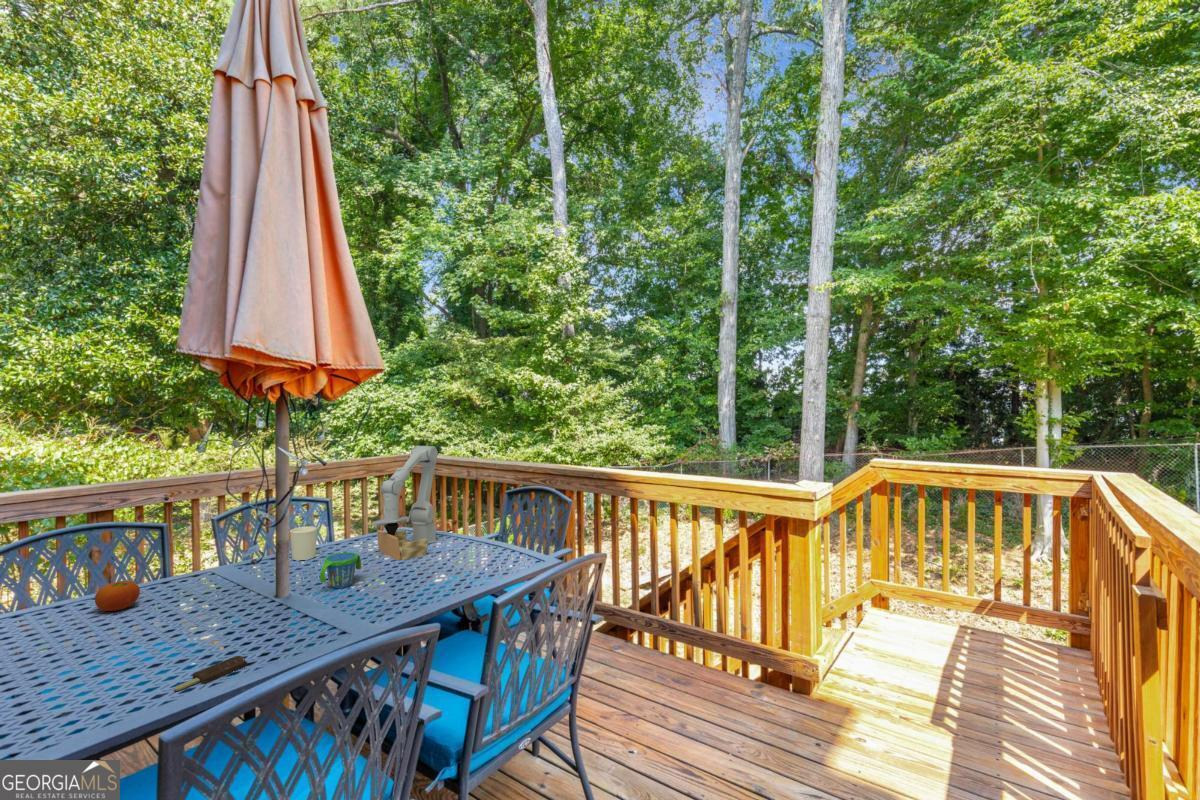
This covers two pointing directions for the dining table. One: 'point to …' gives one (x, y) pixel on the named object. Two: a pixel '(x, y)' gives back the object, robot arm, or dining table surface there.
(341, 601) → the dining table surface
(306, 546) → the candle holder
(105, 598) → the fruit
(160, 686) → the dining table surface
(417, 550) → the cart bed
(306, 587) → the dining table surface
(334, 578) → the snack cup
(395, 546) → the tailgate
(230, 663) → the ice cream bar
